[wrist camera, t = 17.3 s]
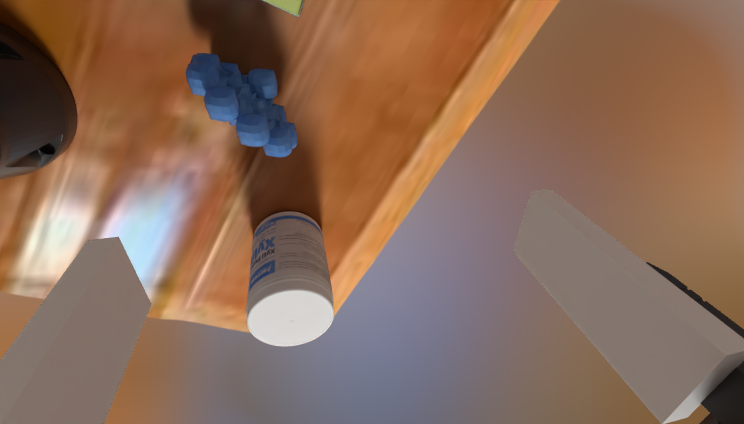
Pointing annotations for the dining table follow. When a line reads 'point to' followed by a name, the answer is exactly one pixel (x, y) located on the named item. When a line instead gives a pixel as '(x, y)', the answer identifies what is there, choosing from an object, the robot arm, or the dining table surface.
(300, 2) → the protein box
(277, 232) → the supplement tub
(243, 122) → the grapes
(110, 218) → the dining table surface
